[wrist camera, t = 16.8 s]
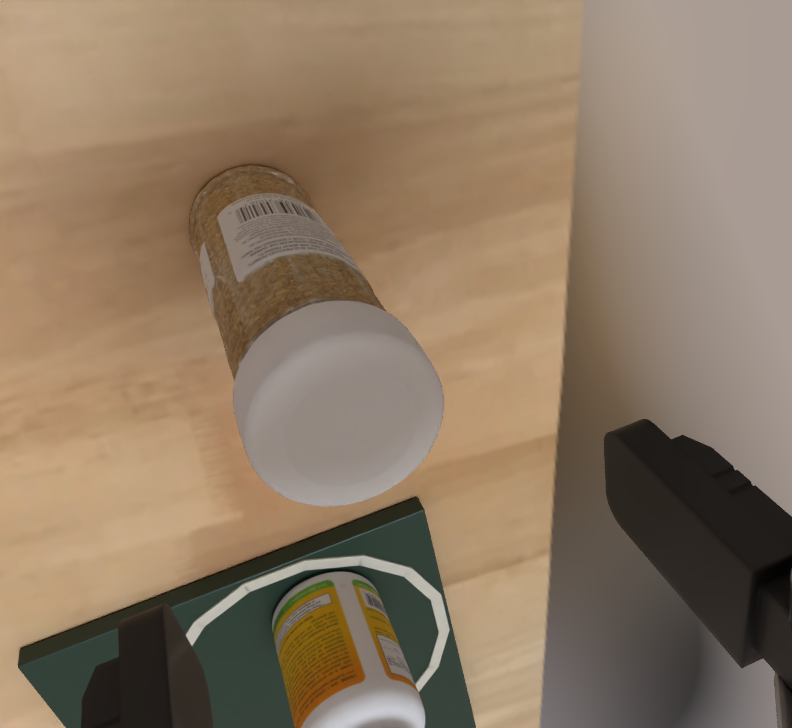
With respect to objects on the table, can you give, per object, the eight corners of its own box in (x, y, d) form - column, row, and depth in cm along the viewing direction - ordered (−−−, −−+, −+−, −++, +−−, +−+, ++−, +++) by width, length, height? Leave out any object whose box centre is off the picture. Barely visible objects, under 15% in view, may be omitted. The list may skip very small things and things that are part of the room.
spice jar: (172, 263, 27) (214, 501, 16) (211, 141, 25) (289, 313, 14) (290, 295, 29) (401, 525, 18) (333, 185, 27) (484, 364, 16)
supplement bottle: (259, 651, 37) (301, 854, 29) (283, 568, 34) (335, 763, 27) (362, 645, 39) (427, 832, 31) (390, 566, 37) (468, 746, 29)
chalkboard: (417, 496, 36) (425, 510, 35) (470, 714, 47) (477, 729, 46) (18, 648, 33) (16, 669, 32) (171, 845, 44) (172, 865, 43)
